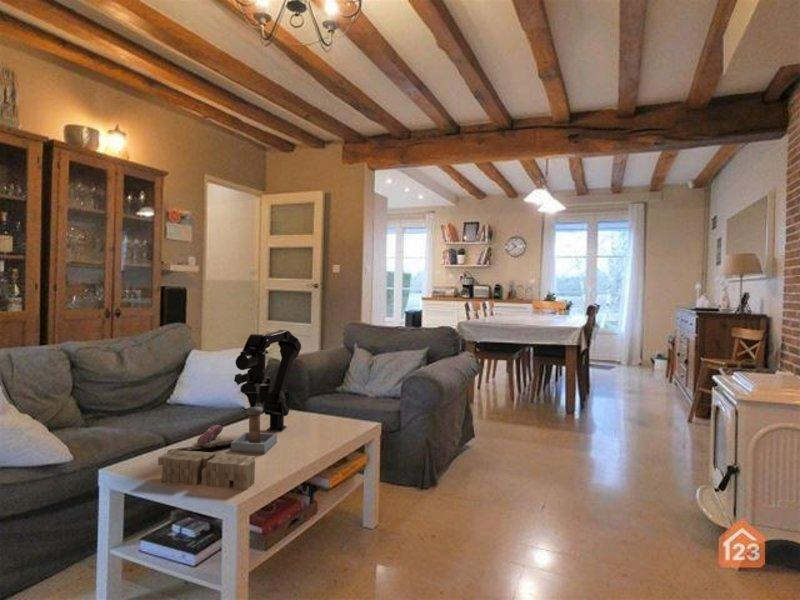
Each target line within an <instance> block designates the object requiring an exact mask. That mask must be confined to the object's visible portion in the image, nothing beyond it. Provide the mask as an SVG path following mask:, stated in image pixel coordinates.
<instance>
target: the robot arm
mask: <svg viewBox="0 0 800 600" xmlns="http://www.w3.org/2000/svg"><path fill="white" fill-rule="evenodd" d="M276 343H277V345H278V346H279V353H280V357H281V359H280V363H279V366H278V369H277V372H276V376H275V379H274V378H273V377H272V376H266V372H268V368H267V367H266V361H267V360H266V358H267V357H266V355H268V354H269V351H268V350H267V349H268V348H270V346H271V345H272V344H276ZM301 349H302V344H301V342H300V340H299V339H298V338H297V337H296V336H294V335H293V334H292V333H291V331H289V330H286V329H279V330H277V331H273V332H269V333H268V332H267V333H265V334H257V333H252V334H250V335H249V336H248V338H247V340H246V341H245V344H244V347H243V348H242V350H241V351H240V353H239V355H238V356H237V357H236V359H235V367H236V368H237V369H239V370H240V371H245V370H247V373H244V374H242V373H241V372H240V373H237V374H235V375H234V380H233V381H234V383H236V385H237V386H239V385H240V393H242V394H244V395H245V396H246V397H247V400H248V403H249V406H250V407H256V405H257V401H258V398H259V404H263V410H264V411H263V412H264V414H265V416H269V427H268V428H267V429H266V431H268V432H269V431H271V432H282V431H284V430H285V429H286V428H288V427H287V425H285V417H287V416H288V415H289V414H290V413H289V412H290V408H289V407H288V405H287V403H286V402H287V398H286V395H285V390H286V388H287V384H288V381H289V380H288V379H289V376H290V374H291V373H290V372H291V368H292V365H293V362H294V361H295V359H297V358H298V356H299V354H300V351H301ZM241 384H242V385H241ZM272 385H273V388H272V390H271V391H270V389H271V387H272ZM269 391H270V392H269ZM250 407H249V408H250Z"/></svg>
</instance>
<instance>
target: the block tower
mask: <svg viewBox="0 0 800 600" xmlns="http://www.w3.org/2000/svg"><path fill="white" fill-rule="evenodd" d="M157 465H158V466H161V467H162V469H161V470H162V472H161V482H162V481H164V482H163V483H167V482H174V483H173V484H180V483H184V484H183V485H193V486H198V485H199V484H201V486H203V487H204V486H205V487H214V488H223V489H229V488H230V487H232V489H233V488H234V489H235V490H243V489H246V490H245V491H247V490H249V489H250V488H251V487H252V486H253V485H254V484H255V478H256V477H255V476H256V475H255V474H256V458H255V456H254V455H244V454H231V453H229V454H228V453H219V454H216V452H210V451H208V452H207V451H198V450H197V451H196V450H193V451H192V450H179V449H178V448H173V449H171V450H169V451H168V452H165V453H164V454H162V455H159V456H158V457H157ZM251 485H252V486H251ZM249 487H250V488H249Z"/></svg>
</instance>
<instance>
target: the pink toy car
mask: <svg viewBox="0 0 800 600" xmlns="http://www.w3.org/2000/svg"><path fill="white" fill-rule="evenodd" d="M223 429H224V427H223V425H219V424H213V425H211V426H210V427H209V428H208V429H206V431H205V432H203V434H202V435H200V436H199V437H198V438H197V439H196V440H197V443H198V444H204V443H205V442H206V441H207V442H208V443H209V442H211V441H213V440H216V439H217V438H218V436H219V435H220V434H221V433H222V432H223Z"/></svg>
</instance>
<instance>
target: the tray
mask: <svg viewBox="0 0 800 600" xmlns="http://www.w3.org/2000/svg"><path fill="white" fill-rule="evenodd" d="M277 443H278V434H277V433H270V432H269V433H268V432H260V443H249V431H248V432H247V431H246V432H244V433H242V434H240V436H238V437H237V438H235V439H234V440H232V441H231V442H230V453H235V452H236V453H237V454H253V455H254V454H255V455H256V454H257V455H265V454H267V453H268V451H270V450H271V449H272V448H273V447H274V446H275V445H276V444H277ZM269 449H270V450H269Z"/></svg>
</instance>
